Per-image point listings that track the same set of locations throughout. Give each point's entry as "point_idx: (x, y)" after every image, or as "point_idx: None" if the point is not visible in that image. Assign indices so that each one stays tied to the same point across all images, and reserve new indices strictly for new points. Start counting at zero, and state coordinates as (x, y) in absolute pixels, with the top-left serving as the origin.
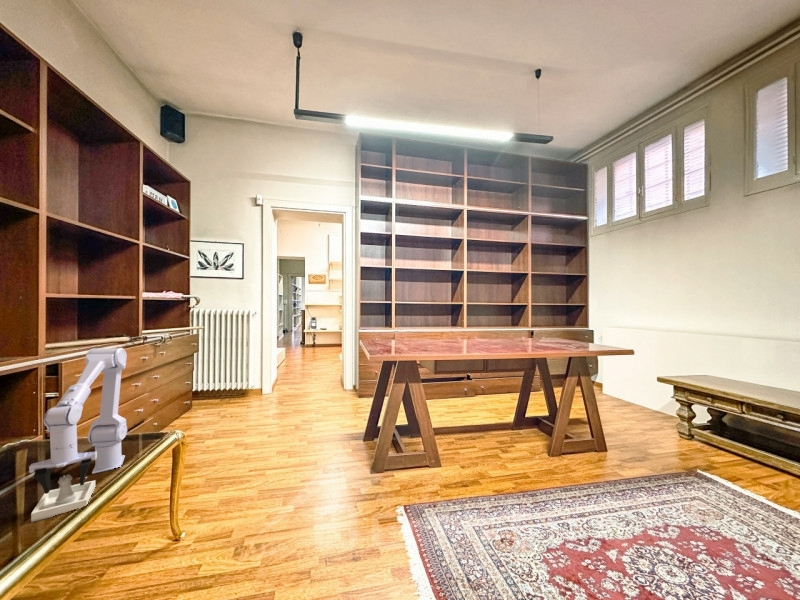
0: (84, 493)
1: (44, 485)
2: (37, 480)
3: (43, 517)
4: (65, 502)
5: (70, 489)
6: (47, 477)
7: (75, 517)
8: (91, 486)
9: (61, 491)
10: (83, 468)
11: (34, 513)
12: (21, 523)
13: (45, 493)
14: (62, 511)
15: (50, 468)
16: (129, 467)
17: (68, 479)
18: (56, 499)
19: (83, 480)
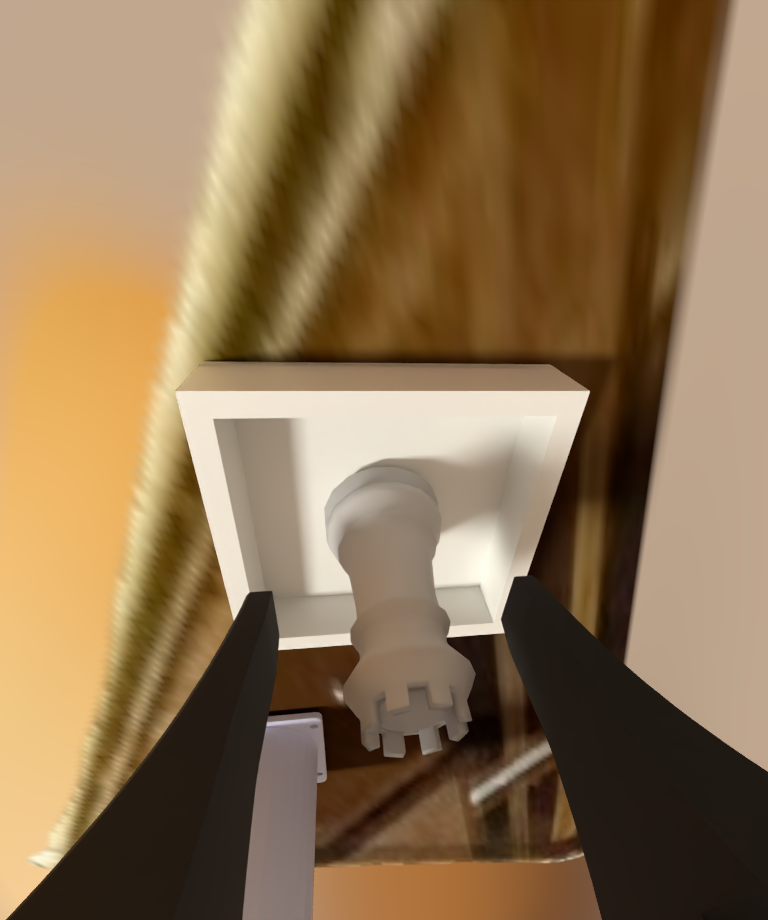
0: (290, 558)
1: (592, 655)
2: (736, 752)
3: (488, 368)
4: (375, 481)
5: (354, 577)
6: (604, 770)
7: (241, 228)
8: (235, 591)
9: (417, 567)
10: (103, 903)
11: (566, 387)
12: (598, 386)
13: (533, 577)
14: (370, 370)
15: (599, 905)
16: (136, 714)
17: (372, 686)
18: (438, 524)
19: (226, 638)
